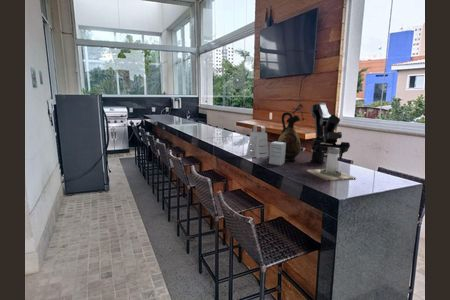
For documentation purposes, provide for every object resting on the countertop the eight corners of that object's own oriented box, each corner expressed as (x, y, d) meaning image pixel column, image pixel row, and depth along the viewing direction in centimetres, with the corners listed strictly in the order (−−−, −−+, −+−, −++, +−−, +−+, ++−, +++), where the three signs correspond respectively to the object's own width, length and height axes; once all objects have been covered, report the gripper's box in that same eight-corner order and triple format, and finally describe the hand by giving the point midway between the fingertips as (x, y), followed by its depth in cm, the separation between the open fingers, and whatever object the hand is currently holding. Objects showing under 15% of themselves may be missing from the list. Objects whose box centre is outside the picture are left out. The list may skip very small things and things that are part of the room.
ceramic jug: (302, 158, 180) (307, 112, 174) (295, 162, 167) (300, 113, 161) (277, 154, 188) (281, 111, 183) (269, 158, 175) (273, 111, 170)
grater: (257, 158, 175) (259, 127, 171) (246, 155, 183) (248, 125, 179) (268, 156, 182) (270, 126, 178) (257, 153, 189) (259, 124, 186)
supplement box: (273, 161, 167) (274, 141, 165) (284, 163, 164) (286, 142, 161) (268, 163, 161) (270, 142, 159) (280, 165, 157) (282, 144, 155)
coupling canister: (327, 171, 146) (330, 147, 143) (337, 173, 142) (340, 149, 140) (323, 173, 142) (326, 148, 139) (333, 175, 138) (336, 150, 136)
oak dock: (333, 170, 152) (333, 166, 152) (355, 179, 137) (356, 175, 136) (306, 171, 148) (307, 167, 147) (326, 180, 132) (327, 176, 131)
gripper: (314, 125, 145) (316, 149, 137) (351, 127, 143) (355, 151, 134) (310, 137, 154) (311, 160, 146) (345, 139, 152) (348, 163, 143)
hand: (331, 159), depth 142 cm, fingers open, 9 cm apart
